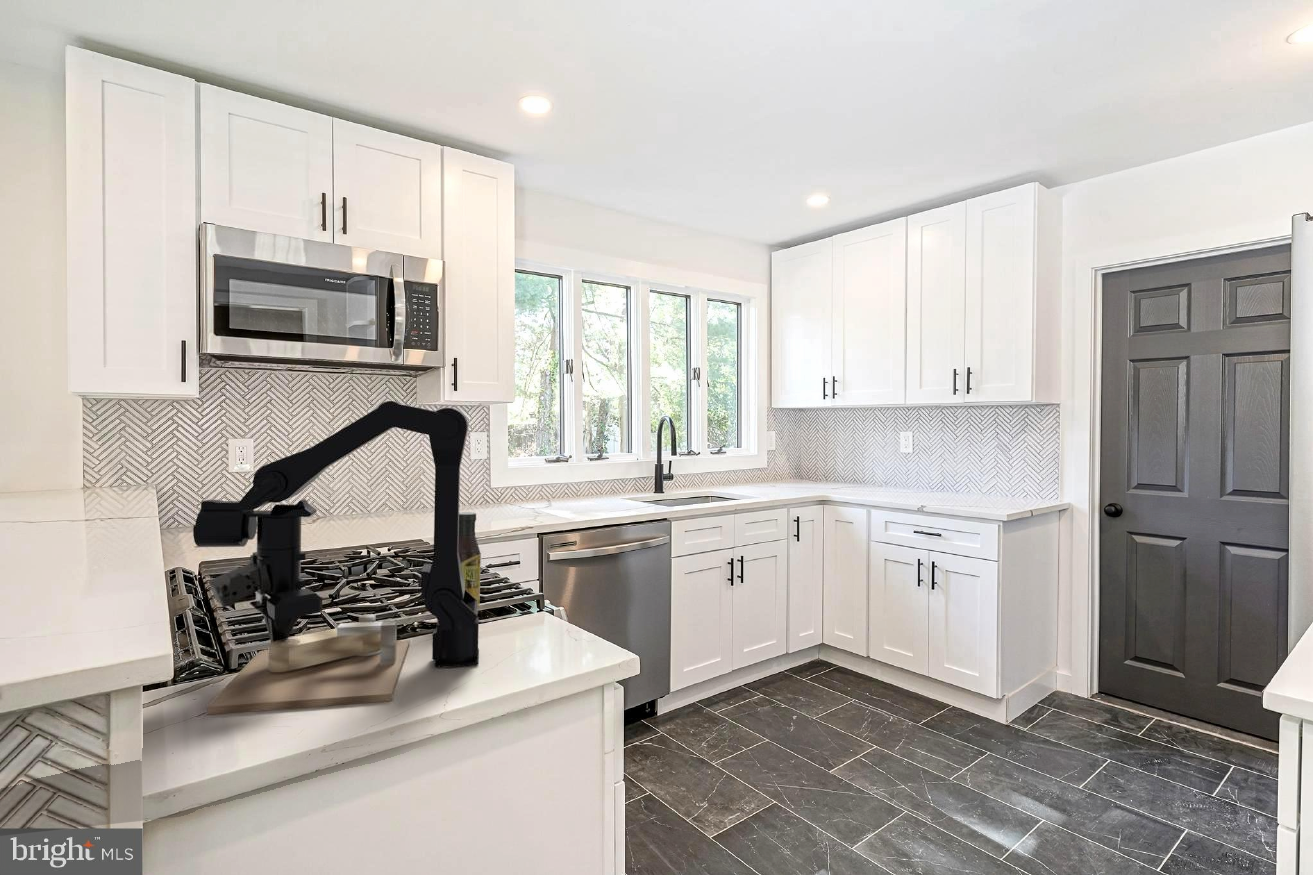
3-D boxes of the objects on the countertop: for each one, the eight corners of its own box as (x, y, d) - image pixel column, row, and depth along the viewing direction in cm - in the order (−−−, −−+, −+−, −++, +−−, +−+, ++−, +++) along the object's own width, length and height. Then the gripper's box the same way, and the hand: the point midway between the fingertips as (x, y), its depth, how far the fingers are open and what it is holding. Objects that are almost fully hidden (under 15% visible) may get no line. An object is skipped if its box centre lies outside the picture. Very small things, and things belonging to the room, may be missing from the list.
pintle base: (409, 645, 112) (410, 604, 111) (391, 700, 90) (392, 649, 90) (262, 654, 106) (263, 610, 106) (206, 714, 85) (206, 660, 85)
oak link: (375, 640, 110) (375, 619, 110) (389, 648, 106) (389, 626, 106) (263, 665, 98) (263, 641, 98) (274, 675, 94) (274, 650, 94)
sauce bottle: (469, 621, 125) (471, 516, 125) (439, 619, 126) (440, 514, 126) (485, 612, 132) (487, 511, 131) (456, 609, 133) (458, 510, 132)
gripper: (199, 542, 100) (198, 645, 100) (234, 565, 87) (233, 683, 87) (281, 534, 108) (280, 629, 108) (324, 554, 95) (322, 662, 95)
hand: (277, 649), depth 100 cm, fingers closed
